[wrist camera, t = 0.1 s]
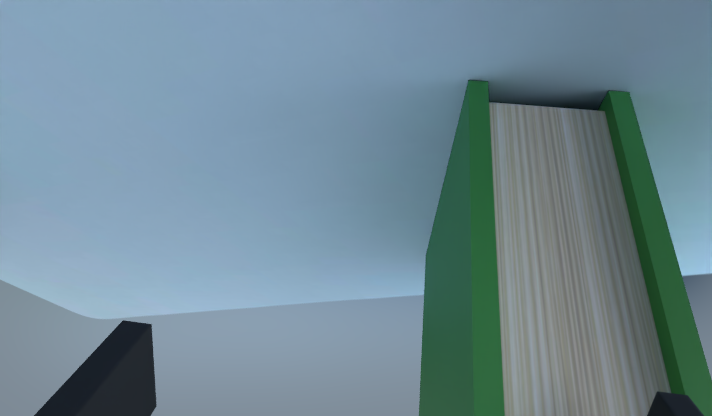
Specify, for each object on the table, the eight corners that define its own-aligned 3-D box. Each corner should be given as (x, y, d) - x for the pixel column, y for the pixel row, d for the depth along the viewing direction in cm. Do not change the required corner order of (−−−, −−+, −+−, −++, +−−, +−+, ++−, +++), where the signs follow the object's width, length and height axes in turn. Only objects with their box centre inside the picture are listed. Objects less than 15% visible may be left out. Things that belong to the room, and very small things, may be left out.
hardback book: (468, 80, 23) (481, 902, 9) (629, 92, 22) (883, 982, 9) (426, 254, 37) (407, 671, 24) (521, 264, 37) (556, 696, 24)
